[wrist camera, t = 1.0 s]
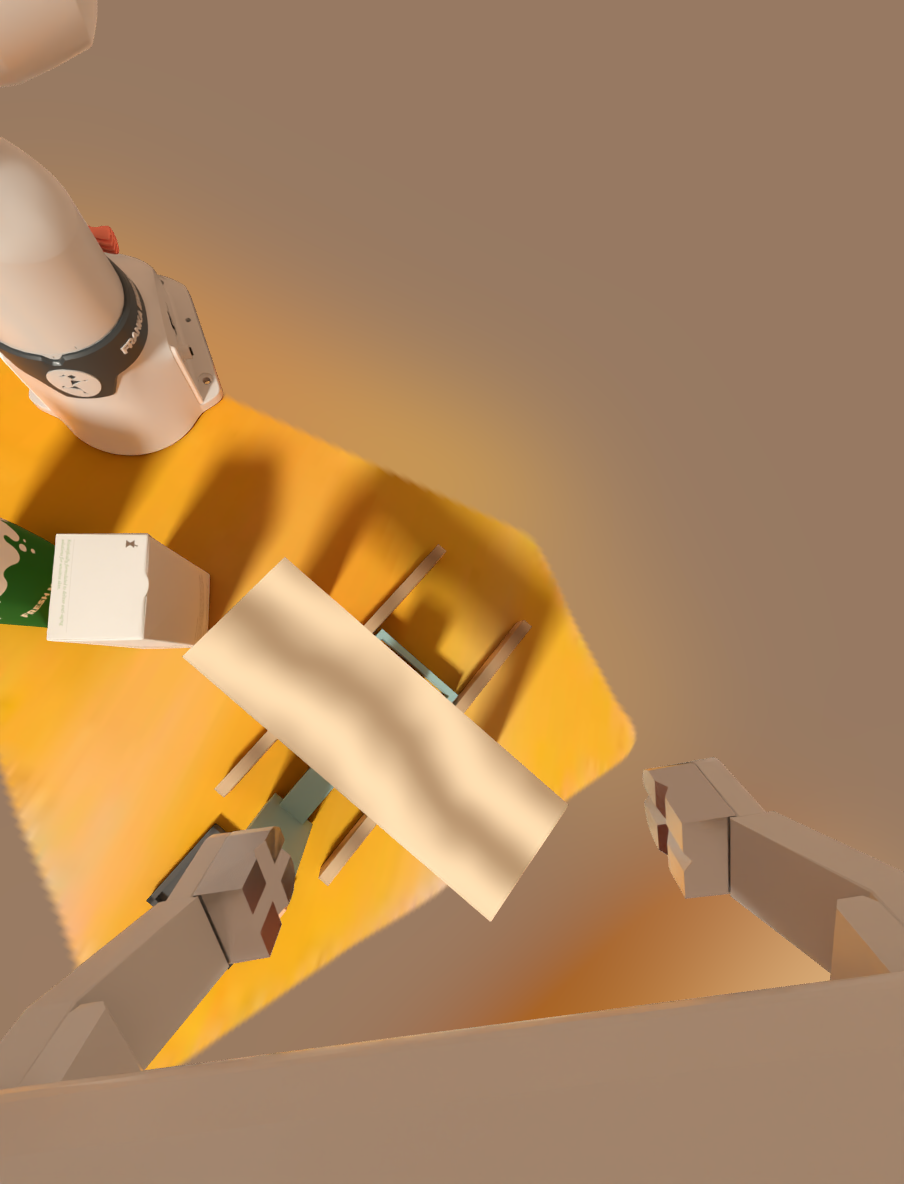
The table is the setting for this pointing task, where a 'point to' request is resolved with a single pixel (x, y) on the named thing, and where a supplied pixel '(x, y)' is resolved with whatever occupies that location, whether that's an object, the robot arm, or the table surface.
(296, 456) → the table surface
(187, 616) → the skincare box
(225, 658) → the tunnel
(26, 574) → the milk carton
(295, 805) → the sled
